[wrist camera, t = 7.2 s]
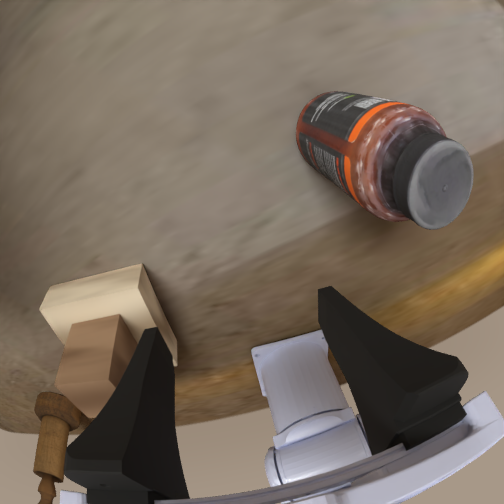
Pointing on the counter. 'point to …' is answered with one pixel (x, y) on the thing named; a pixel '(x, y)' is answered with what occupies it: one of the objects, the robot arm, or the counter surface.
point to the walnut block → (94, 362)
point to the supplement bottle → (386, 157)
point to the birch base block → (108, 303)
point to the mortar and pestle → (53, 440)
